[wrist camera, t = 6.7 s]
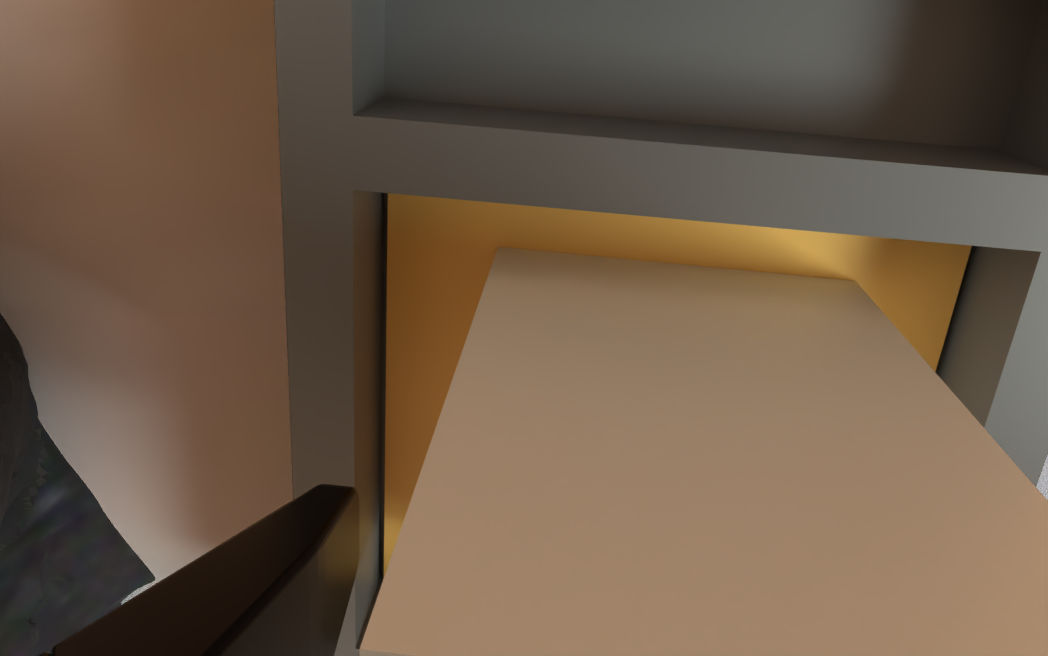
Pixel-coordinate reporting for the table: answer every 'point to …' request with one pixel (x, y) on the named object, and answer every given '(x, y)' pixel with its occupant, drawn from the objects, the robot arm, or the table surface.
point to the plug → (706, 480)
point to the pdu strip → (647, 191)
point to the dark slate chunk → (50, 529)
